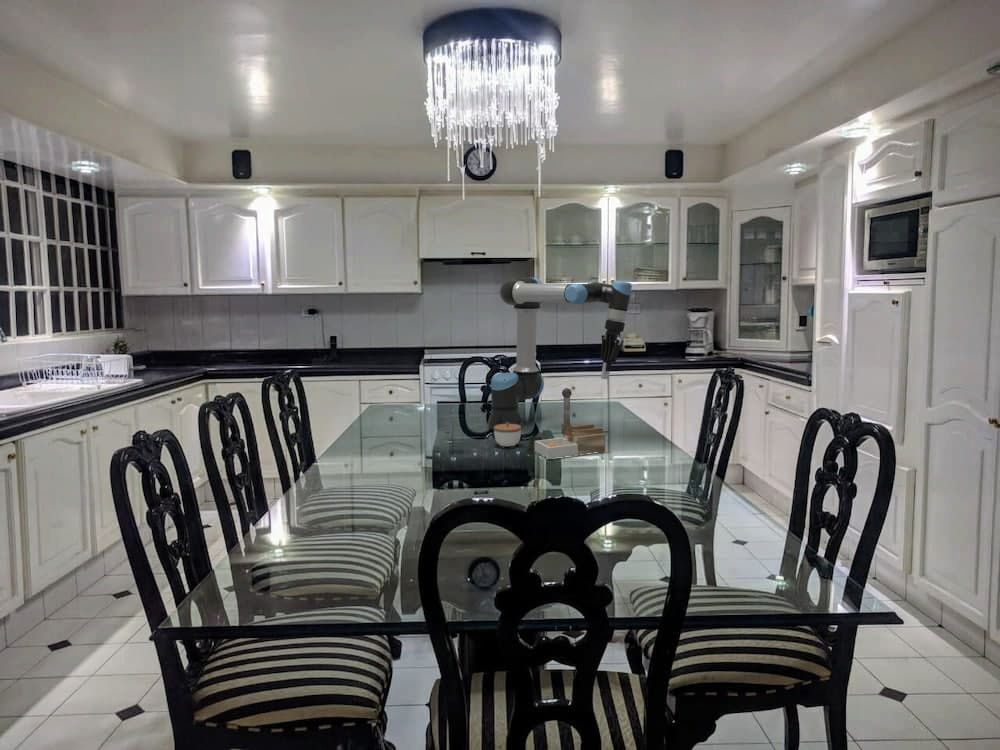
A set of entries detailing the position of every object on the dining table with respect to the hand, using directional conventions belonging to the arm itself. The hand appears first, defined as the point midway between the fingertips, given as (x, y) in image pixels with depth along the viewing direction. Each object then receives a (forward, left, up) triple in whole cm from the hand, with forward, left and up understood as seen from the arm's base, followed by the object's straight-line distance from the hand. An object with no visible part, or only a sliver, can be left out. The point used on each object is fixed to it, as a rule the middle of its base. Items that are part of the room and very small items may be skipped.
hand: (604, 378), depth 290 cm
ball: (+11, -30, -23) cm, 39 cm away
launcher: (+11, -16, -25) cm, 31 cm away
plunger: (+11, -23, -18) cm, 31 cm away
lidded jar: (-9, -39, -25) cm, 47 cm away
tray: (+11, -28, -25) cm, 39 cm away
